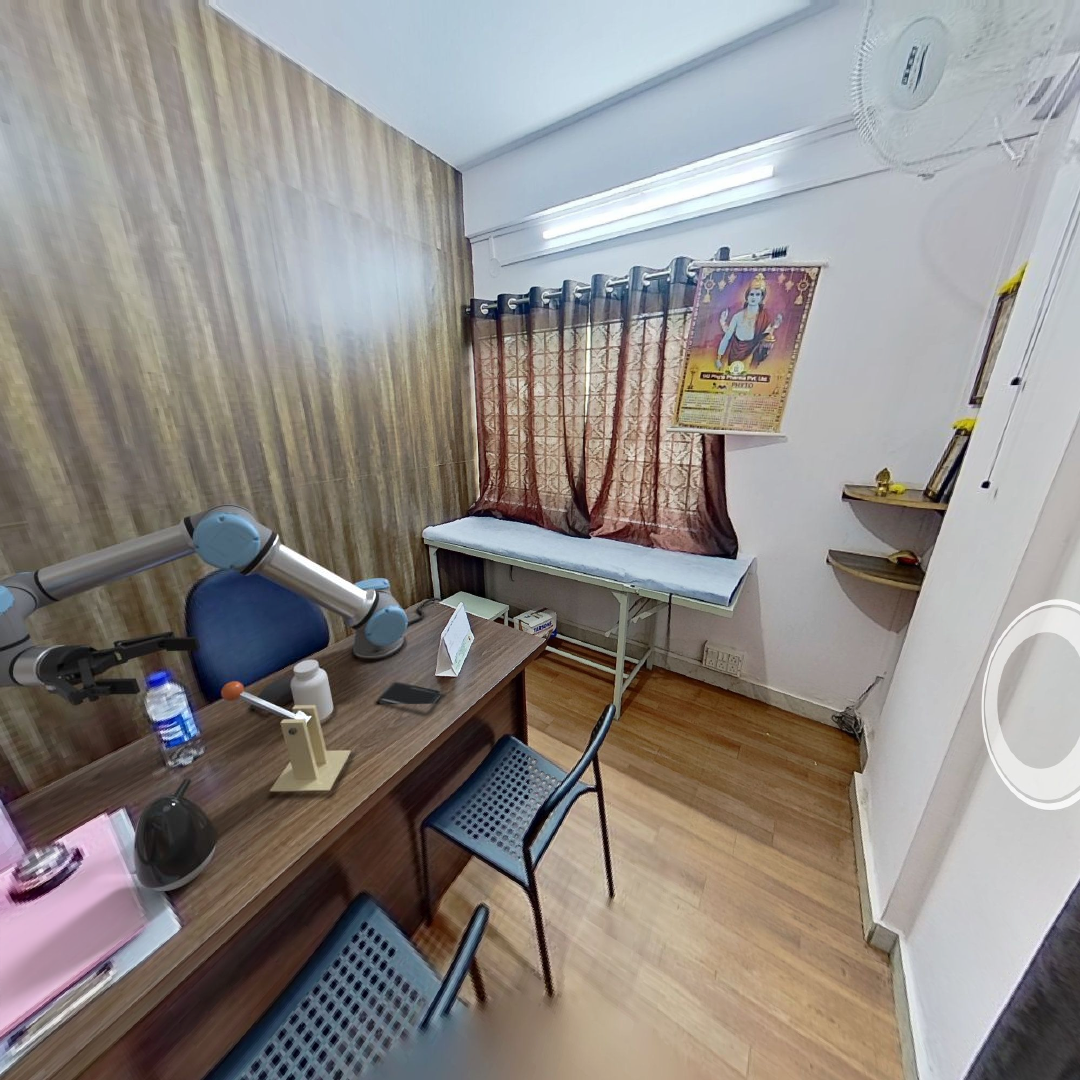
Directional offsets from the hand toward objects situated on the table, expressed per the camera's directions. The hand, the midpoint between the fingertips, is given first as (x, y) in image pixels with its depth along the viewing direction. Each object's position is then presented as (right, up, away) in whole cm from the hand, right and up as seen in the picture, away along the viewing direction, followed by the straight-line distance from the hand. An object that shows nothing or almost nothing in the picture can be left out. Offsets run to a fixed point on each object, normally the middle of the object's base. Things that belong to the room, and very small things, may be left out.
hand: (169, 663), depth 79 cm
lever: (+16, -11, +3) cm, 19 cm away
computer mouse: (+2, -19, +33) cm, 38 cm away
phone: (+37, -19, +30) cm, 51 cm away
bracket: (+23, -26, +8) cm, 36 cm away
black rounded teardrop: (+11, -32, -9) cm, 35 cm away
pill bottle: (+15, -21, +25) cm, 36 cm away
